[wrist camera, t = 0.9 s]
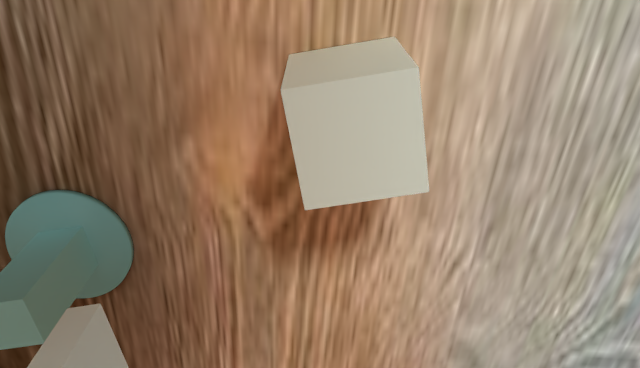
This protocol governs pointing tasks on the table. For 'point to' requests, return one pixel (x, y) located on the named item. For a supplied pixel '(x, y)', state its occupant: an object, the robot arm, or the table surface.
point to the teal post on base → (58, 261)
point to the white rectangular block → (355, 123)
